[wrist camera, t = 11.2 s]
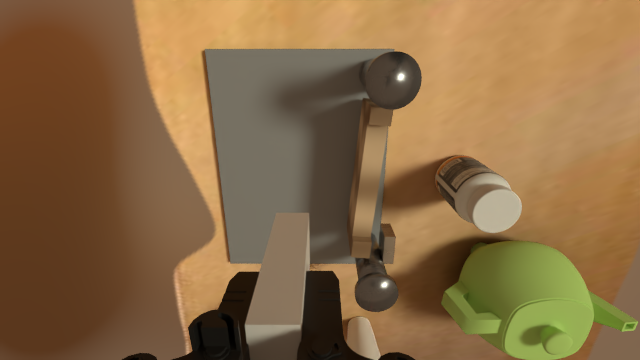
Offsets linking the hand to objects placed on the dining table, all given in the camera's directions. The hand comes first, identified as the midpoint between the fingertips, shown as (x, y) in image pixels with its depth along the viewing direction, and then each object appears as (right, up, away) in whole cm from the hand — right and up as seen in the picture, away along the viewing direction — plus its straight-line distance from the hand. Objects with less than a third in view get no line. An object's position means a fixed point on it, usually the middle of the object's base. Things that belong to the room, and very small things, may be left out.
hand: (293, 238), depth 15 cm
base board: (-1, +4, +25) cm, 25 cm away
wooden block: (+6, +4, +23) cm, 24 cm away
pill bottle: (+18, +3, +25) cm, 31 cm away
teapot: (+26, -10, +30) cm, 41 cm away
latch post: (+7, -4, +28) cm, 29 cm away
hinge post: (+7, +14, +21) cm, 26 cm away
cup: (+7, -19, +34) cm, 39 cm away
